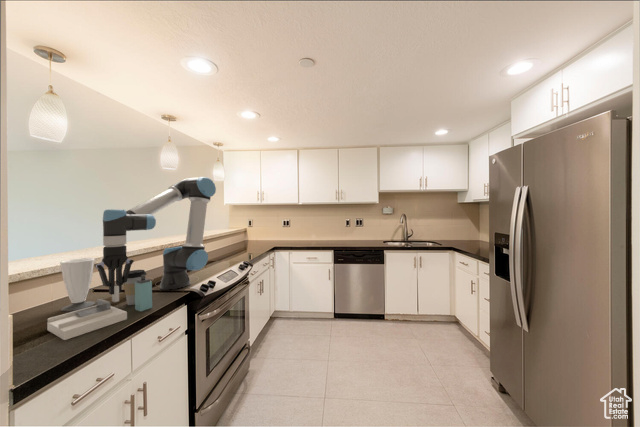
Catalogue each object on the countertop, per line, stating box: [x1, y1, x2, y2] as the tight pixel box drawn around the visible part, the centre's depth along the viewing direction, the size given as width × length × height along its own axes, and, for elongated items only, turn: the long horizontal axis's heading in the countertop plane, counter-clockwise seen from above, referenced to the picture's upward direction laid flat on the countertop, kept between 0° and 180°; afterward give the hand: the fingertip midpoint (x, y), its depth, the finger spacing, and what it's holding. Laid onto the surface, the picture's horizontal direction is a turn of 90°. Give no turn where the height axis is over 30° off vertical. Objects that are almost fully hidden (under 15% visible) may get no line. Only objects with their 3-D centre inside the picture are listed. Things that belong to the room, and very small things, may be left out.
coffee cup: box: [123, 269, 147, 306], centre depth 115 cm, size 9×9×15 cm
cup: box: [59, 257, 96, 312], centre depth 111 cm, size 12×12×22 cm
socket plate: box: [46, 304, 128, 341], centre depth 93 cm, size 18×16×4 cm
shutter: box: [76, 298, 112, 317], centre depth 95 cm, size 8×9×4 cm
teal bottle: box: [134, 275, 153, 312], centre depth 108 cm, size 5×5×15 cm
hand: (115, 301), depth 102 cm, fingers closed
